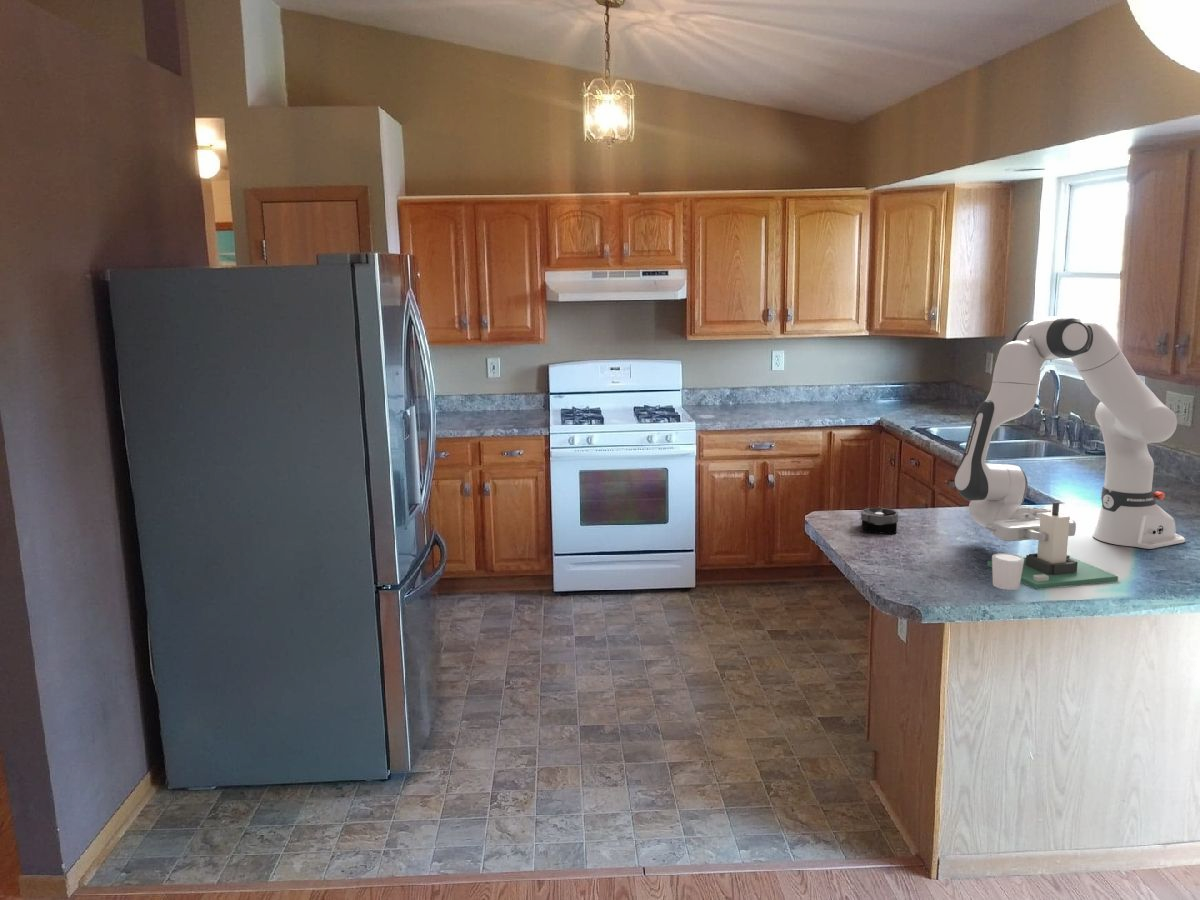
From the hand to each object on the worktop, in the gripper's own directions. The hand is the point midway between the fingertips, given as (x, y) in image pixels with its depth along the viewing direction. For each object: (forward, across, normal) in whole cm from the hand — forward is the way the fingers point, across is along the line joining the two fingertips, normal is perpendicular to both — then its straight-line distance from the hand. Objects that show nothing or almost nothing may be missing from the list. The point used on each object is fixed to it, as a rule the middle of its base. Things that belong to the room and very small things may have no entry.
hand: (1055, 537), depth 212 cm
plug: (-1, 0, +7) cm, 7 cm away
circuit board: (-1, 0, +9) cm, 9 cm away
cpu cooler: (-47, -20, +10) cm, 52 cm away
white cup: (+4, -16, +10) cm, 19 cm away
